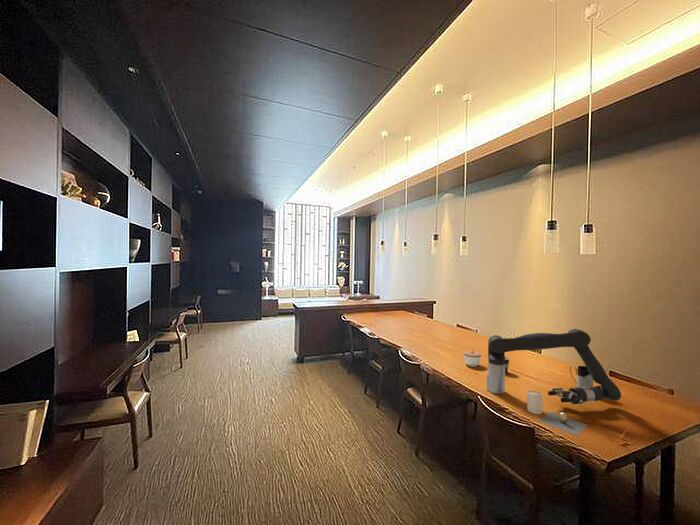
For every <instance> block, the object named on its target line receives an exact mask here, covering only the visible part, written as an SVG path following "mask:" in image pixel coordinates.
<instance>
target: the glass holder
mask: <svg viewBox="0 0 700 525" xmlns="http://www.w3.org/2000/svg"><path fill="white" fill-rule="evenodd" d="M572 367H573V368H574V369H575V374H576V375H577V376H576V379H575V378H574V376H573V374H572ZM569 374H570V377H571V378H572V380H573V381H574V383H576V387H594V380H593V378H592V377H591V375H590V373H589V371H588V369H587V367H586V366H585V365H578V366H577V367H576V366H575V365H570V366H569Z"/></svg>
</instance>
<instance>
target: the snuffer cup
mask: <svg viewBox="0 0 700 525" xmlns="http://www.w3.org/2000/svg"><path fill="white" fill-rule="evenodd" d="M526 400H527V402H526V403H527V404H526V405H527V407H526V410H527V411H528V413H531V414H535V415H541V414H543V394H542V393H541V392H539V391H535V390H529V391H527V398H526Z"/></svg>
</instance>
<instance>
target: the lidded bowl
mask: <svg viewBox="0 0 700 525" xmlns="http://www.w3.org/2000/svg"><path fill="white" fill-rule="evenodd" d="M463 361H464V362H465V364H466V365H467V366H468V367H471V368H474V367H475V368H476V367H477V366H479V365H480V364H481V361H482V353H481V352H478V351H474V350H465V351H463Z"/></svg>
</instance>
